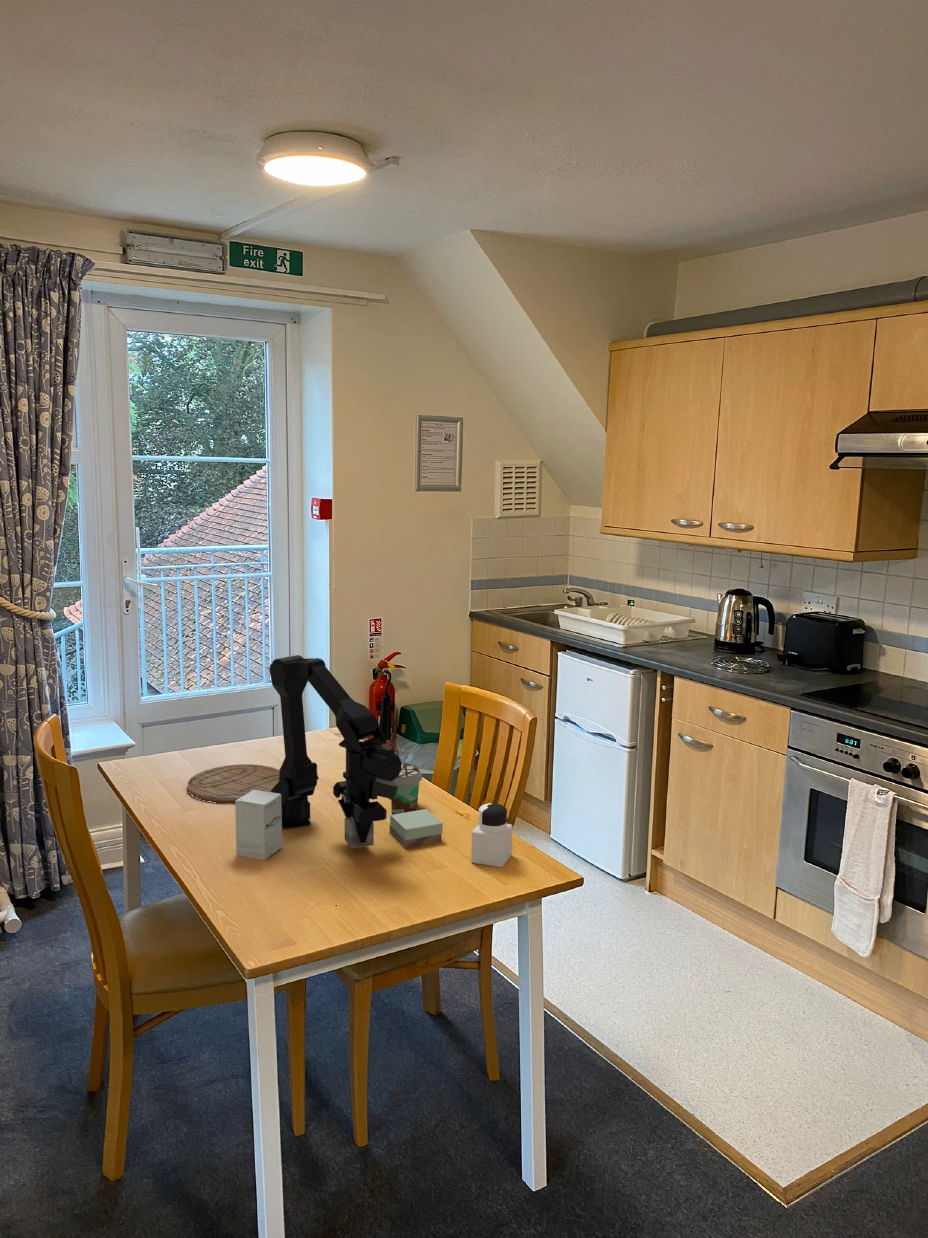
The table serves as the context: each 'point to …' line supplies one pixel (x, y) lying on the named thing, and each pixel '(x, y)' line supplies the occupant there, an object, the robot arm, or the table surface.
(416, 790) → the food container
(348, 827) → the grey cube
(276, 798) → the supplement box
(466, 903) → the table surface
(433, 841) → the walnut slab
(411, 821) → the sage slab
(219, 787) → the trivet
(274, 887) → the table surface
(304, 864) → the table surface
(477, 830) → the medicine bottle
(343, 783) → the robot arm
